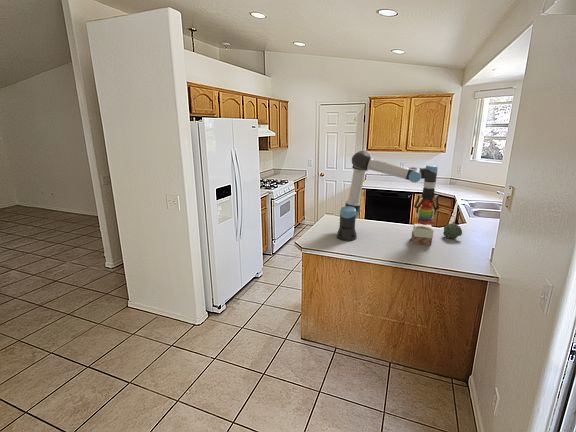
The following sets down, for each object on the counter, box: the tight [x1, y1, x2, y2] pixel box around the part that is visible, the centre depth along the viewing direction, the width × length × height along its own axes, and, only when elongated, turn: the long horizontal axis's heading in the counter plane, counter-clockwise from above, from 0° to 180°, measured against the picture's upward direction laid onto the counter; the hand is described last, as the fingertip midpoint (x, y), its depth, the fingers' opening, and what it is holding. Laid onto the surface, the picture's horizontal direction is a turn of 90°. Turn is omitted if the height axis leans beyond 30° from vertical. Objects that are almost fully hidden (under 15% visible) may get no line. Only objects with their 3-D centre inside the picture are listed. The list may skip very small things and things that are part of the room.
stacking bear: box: [417, 199, 435, 225], centre depth 225 cm, size 11×10×18 cm
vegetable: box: [443, 222, 463, 240], centre depth 239 cm, size 12×13×15 cm
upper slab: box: [412, 223, 434, 239], centre depth 229 cm, size 12×12×6 cm
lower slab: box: [411, 230, 433, 246], centre depth 232 cm, size 12×12×6 cm
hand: (424, 217), depth 227 cm, fingers closed on stacking bear, 9 cm apart
